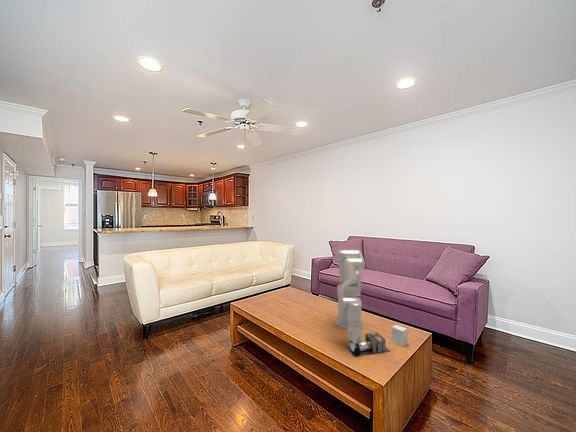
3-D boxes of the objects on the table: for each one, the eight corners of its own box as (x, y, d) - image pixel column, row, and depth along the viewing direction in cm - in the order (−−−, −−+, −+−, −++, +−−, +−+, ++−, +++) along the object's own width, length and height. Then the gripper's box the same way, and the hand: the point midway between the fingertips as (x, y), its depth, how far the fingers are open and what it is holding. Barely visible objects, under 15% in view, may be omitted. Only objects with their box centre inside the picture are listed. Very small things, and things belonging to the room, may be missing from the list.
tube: (353, 353, 156) (352, 344, 157) (349, 350, 161) (348, 341, 162) (379, 349, 160) (379, 341, 161) (375, 346, 165) (374, 338, 166)
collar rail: (345, 348, 164) (345, 334, 164) (380, 343, 169) (381, 330, 169) (354, 358, 153) (354, 343, 153) (391, 352, 159) (391, 338, 158)
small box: (407, 344, 168) (407, 328, 168) (402, 347, 165) (402, 331, 164) (396, 339, 174) (396, 324, 174) (391, 342, 171) (391, 326, 171)
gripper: (343, 316, 166) (343, 344, 167) (356, 329, 150) (355, 359, 150) (354, 315, 168) (353, 343, 169) (367, 327, 151) (367, 358, 152)
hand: (354, 350), depth 159 cm, fingers closed on tube, 5 cm apart
